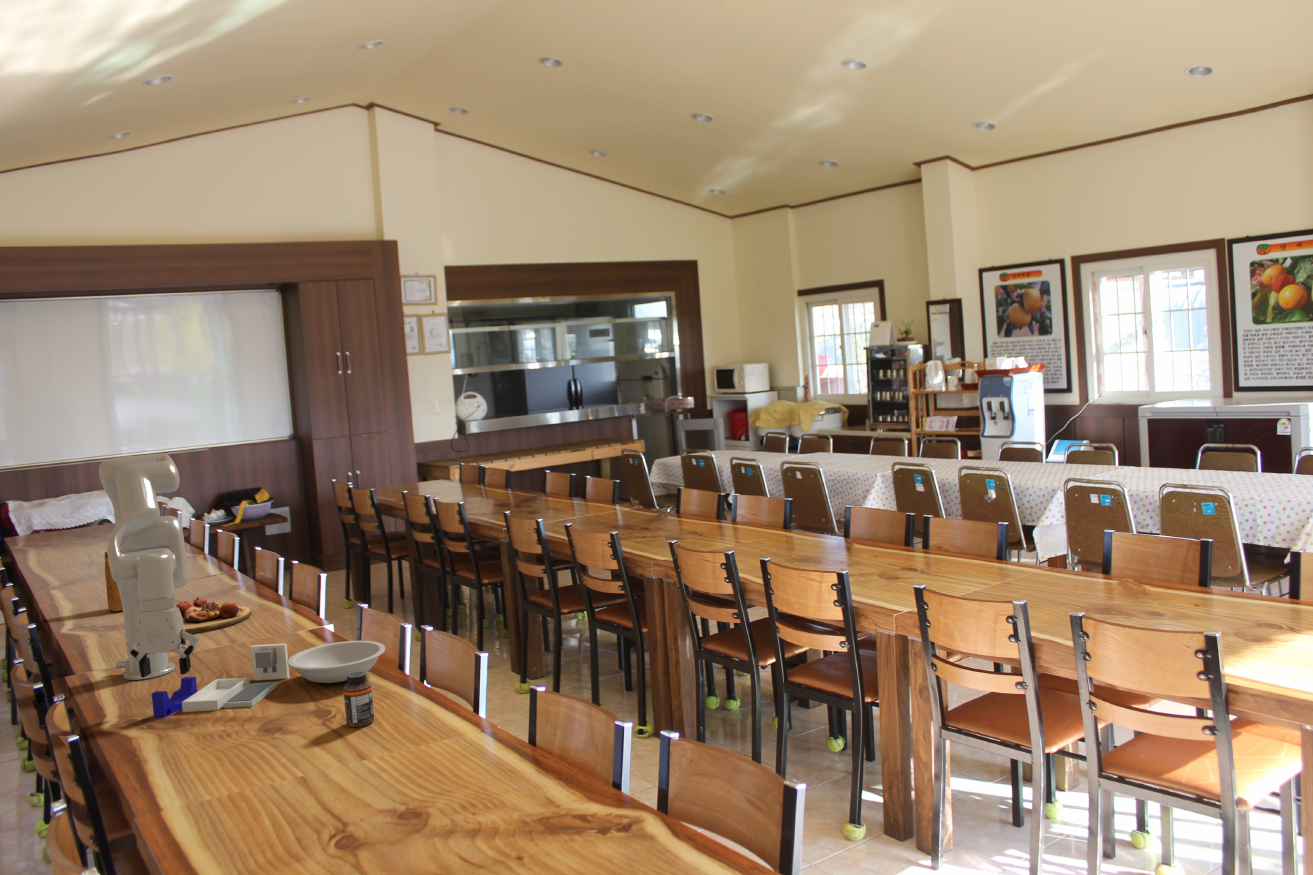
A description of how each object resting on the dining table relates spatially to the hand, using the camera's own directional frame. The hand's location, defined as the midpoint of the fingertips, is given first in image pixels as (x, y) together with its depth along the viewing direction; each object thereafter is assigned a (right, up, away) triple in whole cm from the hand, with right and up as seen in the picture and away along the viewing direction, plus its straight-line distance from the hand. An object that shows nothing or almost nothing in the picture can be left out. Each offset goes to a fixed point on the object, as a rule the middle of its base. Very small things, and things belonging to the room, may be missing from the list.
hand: (165, 674), depth 229 cm
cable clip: (+1, -9, +1) cm, 9 cm away
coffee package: (-73, -5, +115) cm, 136 cm away
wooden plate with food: (-33, -5, +87) cm, 93 cm away
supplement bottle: (+53, -7, -18) cm, 56 cm away
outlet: (+18, -6, +18) cm, 26 cm away
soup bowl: (+37, -5, +16) cm, 40 cm away
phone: (+18, -7, +6) cm, 20 cm away
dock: (+10, -8, +6) cm, 14 cm away
